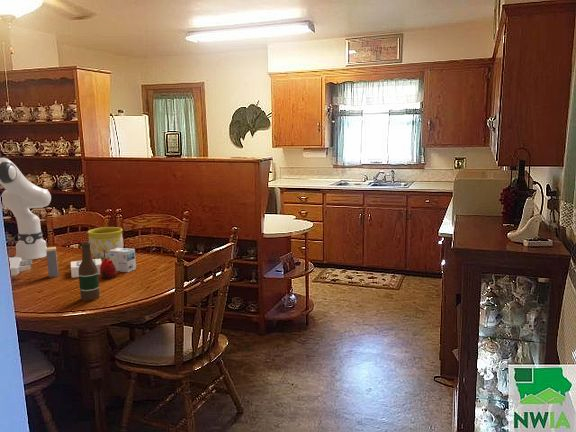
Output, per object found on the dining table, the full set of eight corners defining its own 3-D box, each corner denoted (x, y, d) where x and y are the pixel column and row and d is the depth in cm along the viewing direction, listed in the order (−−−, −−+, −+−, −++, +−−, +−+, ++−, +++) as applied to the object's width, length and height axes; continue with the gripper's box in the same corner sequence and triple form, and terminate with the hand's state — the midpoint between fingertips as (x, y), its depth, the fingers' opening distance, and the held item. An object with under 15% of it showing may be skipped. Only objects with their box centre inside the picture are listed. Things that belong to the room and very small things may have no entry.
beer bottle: (83, 295, 202) (79, 240, 198) (102, 294, 202) (98, 240, 198) (77, 301, 194) (72, 245, 190) (96, 301, 195) (92, 244, 191)
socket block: (71, 271, 238) (70, 261, 237) (101, 267, 243) (100, 257, 242) (71, 277, 227) (70, 267, 226) (102, 274, 233) (102, 263, 232)
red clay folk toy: (119, 275, 229) (117, 245, 227) (110, 280, 223) (108, 249, 220) (106, 274, 231) (103, 245, 229) (96, 279, 225) (94, 248, 222)
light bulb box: (136, 269, 241) (135, 248, 239) (128, 272, 235) (126, 251, 233) (119, 267, 244) (117, 247, 242) (110, 271, 238) (108, 250, 236)
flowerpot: (90, 265, 249) (87, 234, 246) (89, 257, 265) (86, 228, 262) (126, 261, 256) (124, 231, 253) (123, 253, 272) (121, 225, 269)
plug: (49, 275, 231) (46, 247, 229) (58, 274, 233) (55, 246, 230) (48, 277, 227) (45, 249, 225) (58, 276, 229) (55, 248, 226)
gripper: (-7, 267, 210) (28, 263, 215) (-1, 256, 228) (32, 253, 234) (-5, 280, 211) (30, 276, 216) (1, 269, 229) (33, 265, 235)
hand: (31, 264), depth 225 cm, fingers open, 8 cm apart
